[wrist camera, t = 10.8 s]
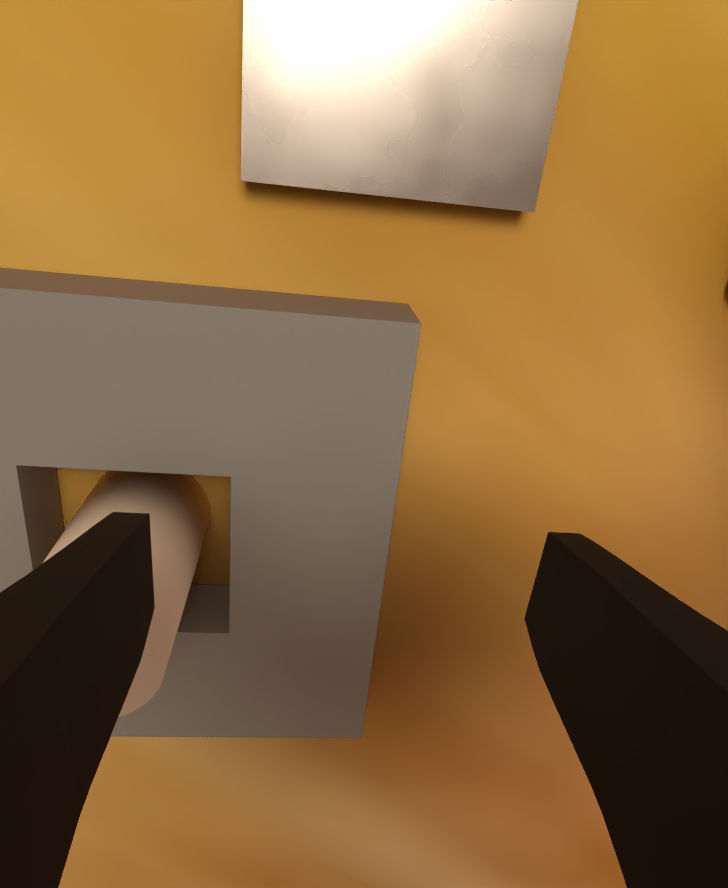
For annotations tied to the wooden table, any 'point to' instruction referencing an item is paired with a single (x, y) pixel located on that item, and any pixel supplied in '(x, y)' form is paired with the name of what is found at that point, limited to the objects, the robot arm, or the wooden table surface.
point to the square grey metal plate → (403, 96)
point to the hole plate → (223, 474)
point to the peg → (153, 554)
